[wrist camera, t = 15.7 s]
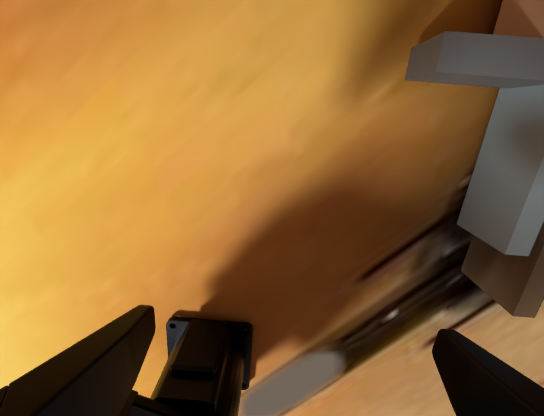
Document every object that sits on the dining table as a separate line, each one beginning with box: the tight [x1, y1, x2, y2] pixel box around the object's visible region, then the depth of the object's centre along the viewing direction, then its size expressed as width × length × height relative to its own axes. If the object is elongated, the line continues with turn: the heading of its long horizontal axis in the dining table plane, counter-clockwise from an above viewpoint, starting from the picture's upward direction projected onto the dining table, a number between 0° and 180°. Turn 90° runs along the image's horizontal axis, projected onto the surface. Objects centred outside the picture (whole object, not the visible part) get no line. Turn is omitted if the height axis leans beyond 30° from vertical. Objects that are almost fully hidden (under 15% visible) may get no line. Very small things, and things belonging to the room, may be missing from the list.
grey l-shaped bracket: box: [405, 31, 544, 256], centre depth 14 cm, size 10×7×4 cm
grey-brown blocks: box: [461, 221, 544, 318], centre depth 14 cm, size 20×3×4 cm, turn 176°
